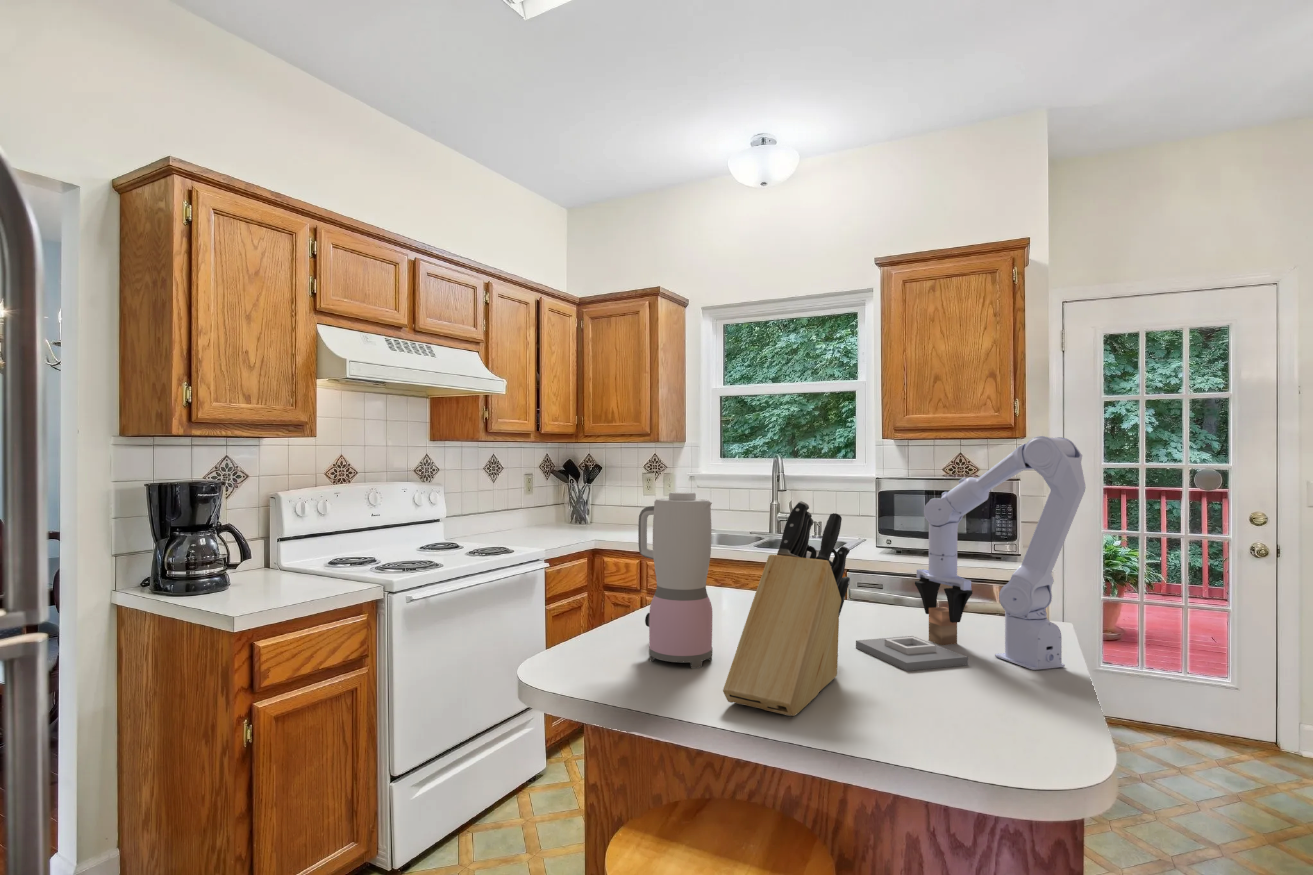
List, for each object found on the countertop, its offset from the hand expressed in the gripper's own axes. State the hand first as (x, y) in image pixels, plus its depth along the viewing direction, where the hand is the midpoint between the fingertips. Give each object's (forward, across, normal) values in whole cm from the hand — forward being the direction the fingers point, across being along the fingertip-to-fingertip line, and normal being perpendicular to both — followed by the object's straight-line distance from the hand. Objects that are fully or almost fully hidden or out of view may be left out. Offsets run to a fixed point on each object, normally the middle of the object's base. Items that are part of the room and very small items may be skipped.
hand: (942, 617), depth 148 cm
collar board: (+5, +7, -14) cm, 17 cm away
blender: (+6, -4, -60) cm, 60 cm away
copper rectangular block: (+5, 0, 0) cm, 5 cm away
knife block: (+5, +17, -45) cm, 48 cm away
